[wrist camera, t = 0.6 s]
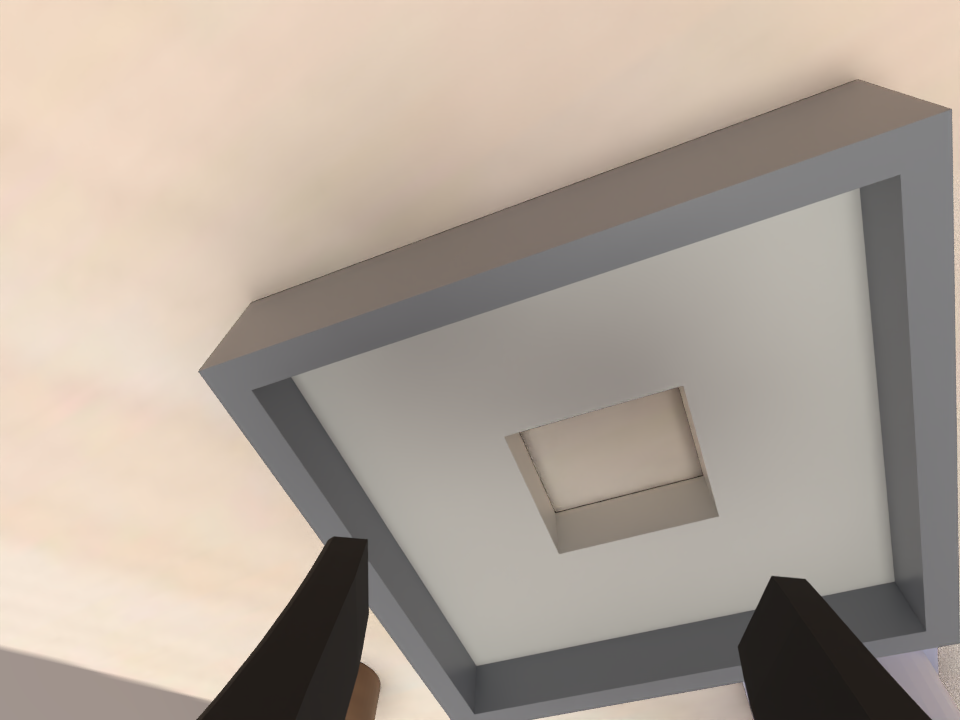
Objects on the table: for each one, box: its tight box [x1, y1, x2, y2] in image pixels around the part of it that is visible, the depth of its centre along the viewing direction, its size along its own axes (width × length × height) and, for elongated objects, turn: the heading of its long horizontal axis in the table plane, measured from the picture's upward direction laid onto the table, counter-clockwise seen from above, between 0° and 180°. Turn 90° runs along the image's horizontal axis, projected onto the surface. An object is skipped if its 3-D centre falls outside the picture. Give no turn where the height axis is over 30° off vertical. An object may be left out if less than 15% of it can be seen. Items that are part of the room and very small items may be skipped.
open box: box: [198, 80, 960, 720], centre depth 21 cm, size 18×18×4 cm
